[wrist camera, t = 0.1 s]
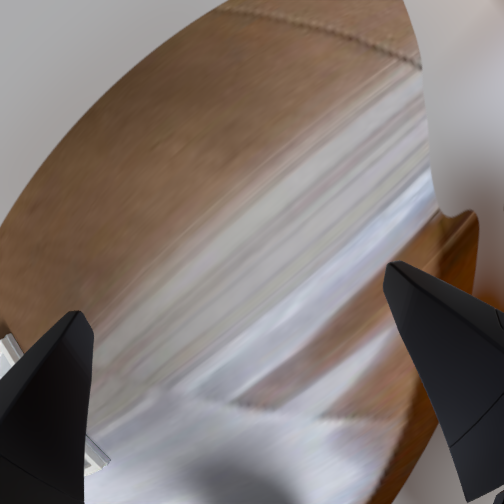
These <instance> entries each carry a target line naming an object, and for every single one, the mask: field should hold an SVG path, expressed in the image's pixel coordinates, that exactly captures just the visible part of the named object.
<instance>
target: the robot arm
mask: <svg viewBox="0 0 504 504" xmlns="http://www.w3.org/2000/svg"><path fill="white" fill-rule="evenodd" d="M383 291H384V294H385V297H386V299H387V302H388V304H389V307H390V309H391V312H392V315H393V317H394V320H395V323H396V325H397V328H398V330H399V333H400V335H401V337H402V340H403V342H404V344H405V346H406V348H407V350H408V352H409V354H410V356H411V358H412V360H413V363H414V365H415V367H416V369H417V371H418V373H419V376H420V378H421V380H422V382H423V385H424V387H425V389H426V391H427V394H428V396H429V399H430V401H431V403H432V406H433V408H434V410H435V413H436V415H437V418H438V420H439V423H440V425H441V428H442V431H443V433H444V436H445V439H446V441H447V444H448V447H449V448H450V449H449V450H450V453H451V456H452V458H453V461H454V464H455V467H456V470H457V473H458V476H459V479H460V483H461V486H462V489H463V492H464V496H465V499H466V501H467V503H468V502H470V501H473V500H475V499H477V498H479V497H481V496H483V495H485V494H487V493H489V492H491V491H493V490H495V489H496V488H499V487H500V486H502V485H504V313H503V312H501V311H500V310H498V309H495V308H494V307H492V306H490V305H488V304H487V303H485V302H483V301H481V300H479V299H477V298H475V297H473V296H471V295H469V294H468V293H466V292H464V291H462V290H460V289H458V288H456V287H454V286H452V285H450V284H448V283H446V282H444V281H442V280H440V279H438V278H436V277H434V276H432V275H430V274H428V273H426V272H424V271H422V270H420V269H418V268H415V267H413V266H411V265H409V264H407V263H405V262H403V261H400V260H399V261H394V262H389V263H388V264H387V266H386V271H385V277H384V282H383ZM93 343H94V333H93V330H92V328H91V326H90V324H89V323H88V321H87V319H86V318H85V316H84V314H83V313H82V312H81V311H79V310H77V311H69V312H68V313H66V314H65V315H64V316H63V317H62V318H61V319H60V320H59V321H58V322H57V323H56V324H55V325H54V326H53V327H52V328H50V329H49V330H48V331H47V332H46V333H45V334H44V335H43V336H42V337H41V338H40V339H39V340H38V341H37V342H36V343H35V344H34V345H33V346H32V347H31V348H30V349H29V350H28V351H27V352H26V353H25V354H24V355H23V356H22V357H21V358H20V359H19V360H18V361H17V362H16V363H15V364H14V365H13V366H12V367H11V368H10V369H9V371H8V372H7V373H6V374H5V375H4V376H3V377H2V378H1V379H0V504H84V461H85V441H86V427H87V415H88V406H89V397H90V389H91V379H92V359H93ZM493 504H504V490H503V491H501V492H500V493H499V494H497V495H496V498H495V500H494V503H493Z"/></svg>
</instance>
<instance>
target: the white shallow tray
mask: <svg viewBox="0 0 504 504" xmlns="http://www.w3.org/2000/svg"><path fill="white" fill-rule="evenodd" d="M23 355H24V353H23V352H22V350H21V349H20V347H19V345H18V344H17V342H16V340H15V339H14V337H13V335H12V334H11V333H10V334H7V335H6V336H5V337H4V338H3V339H1V340H0V379H1V378H2V377H3V376H4V375H5V374H6V373H7V372H8V371H9V369H10V368H11V367H12V366H13V365H14V364H15V363H16V362H17V361H18V360H19V359H20V358H21V357H22V356H23ZM110 461H111V460H110V459H109V458H108V457H107V456H106V455H105V454H104V453H103V452H102V451H101V450H100V449H99V448H98V447H97V446H96V445H95V444H94V443H93V442H92V441H91V440H90V439H89V438H88V437H87V436H86V441H85V461H84V477H86V476H88V475H90V474H93V473H95V472H97V471H100V470H102V469H103V467H104V466H106V465H108V464H109V463H110Z"/></svg>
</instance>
